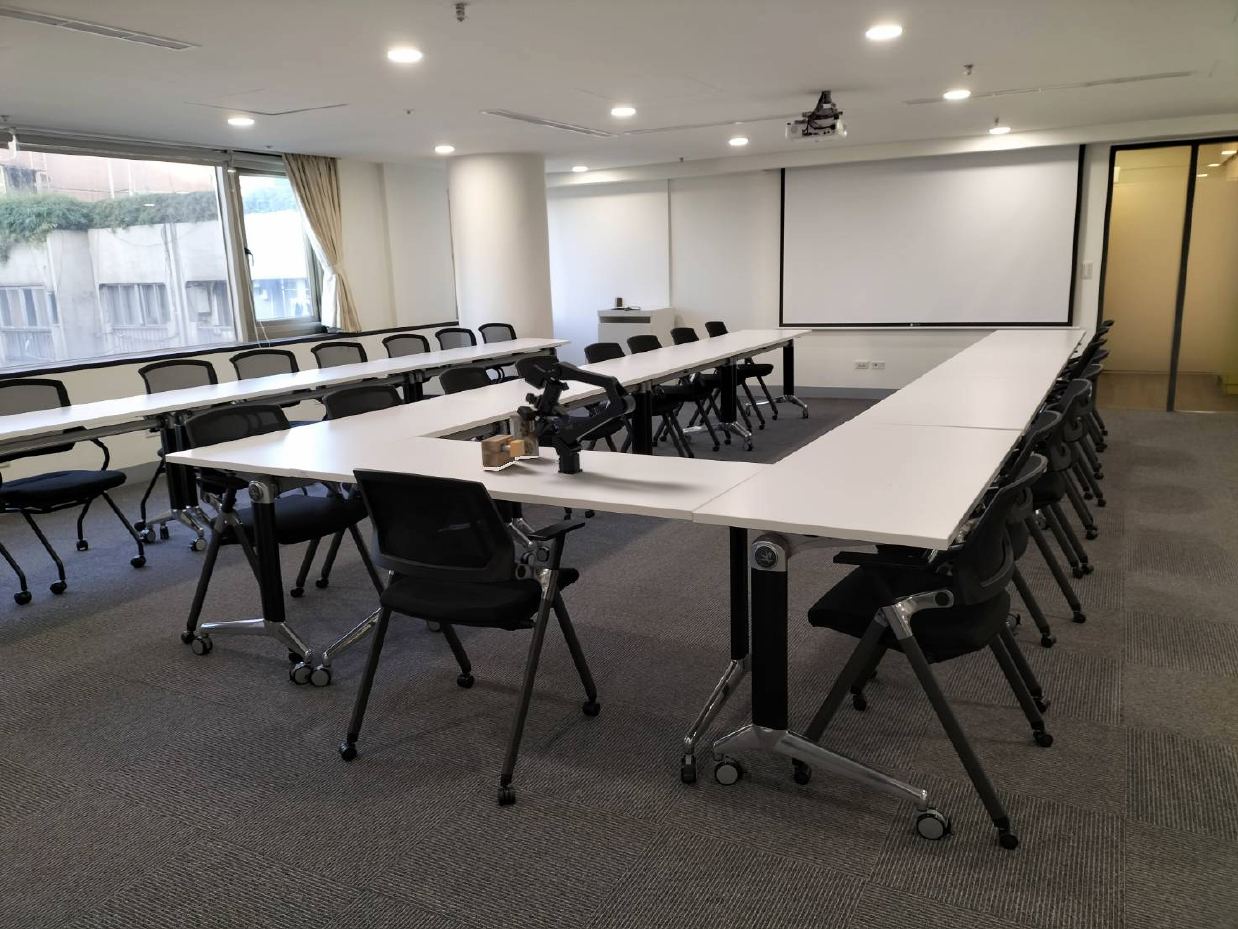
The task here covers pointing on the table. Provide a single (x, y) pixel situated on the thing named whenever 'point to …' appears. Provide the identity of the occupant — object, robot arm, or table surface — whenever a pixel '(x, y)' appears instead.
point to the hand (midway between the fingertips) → (535, 435)
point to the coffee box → (524, 434)
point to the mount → (496, 451)
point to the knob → (515, 448)
